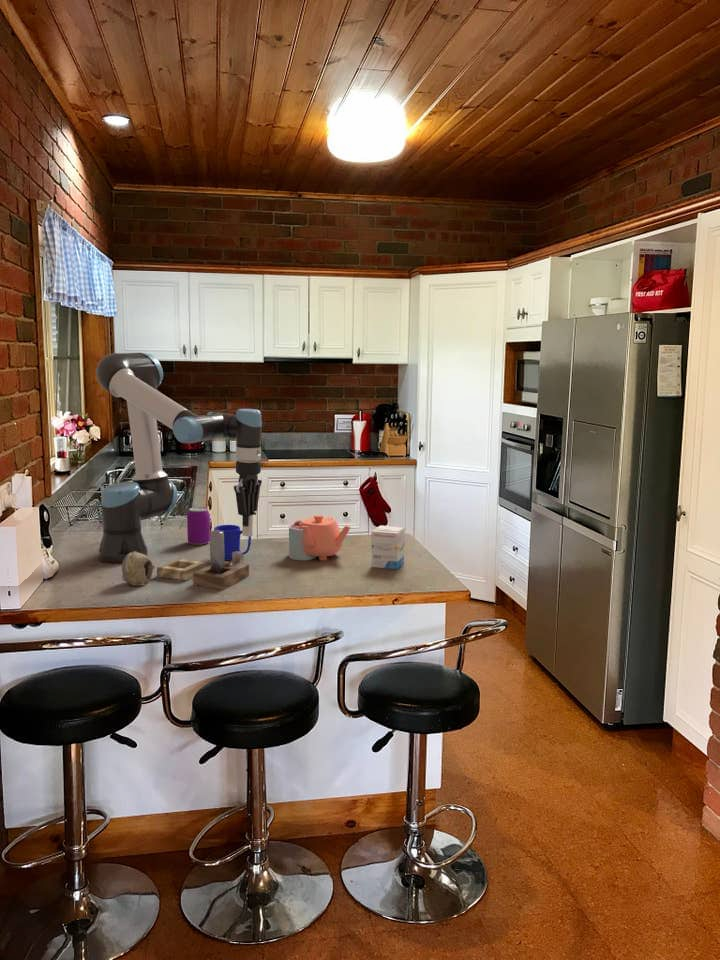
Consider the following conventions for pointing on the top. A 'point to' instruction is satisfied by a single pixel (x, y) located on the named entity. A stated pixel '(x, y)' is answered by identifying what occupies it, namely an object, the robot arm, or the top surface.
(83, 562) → the top surface
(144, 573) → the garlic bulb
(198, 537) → the beverage can
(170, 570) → the frame
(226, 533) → the mug
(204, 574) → the socket block
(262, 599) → the top surface
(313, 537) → the teapot
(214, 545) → the peg
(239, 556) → the drift key
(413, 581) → the top surface
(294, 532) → the mug
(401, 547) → the ink box
